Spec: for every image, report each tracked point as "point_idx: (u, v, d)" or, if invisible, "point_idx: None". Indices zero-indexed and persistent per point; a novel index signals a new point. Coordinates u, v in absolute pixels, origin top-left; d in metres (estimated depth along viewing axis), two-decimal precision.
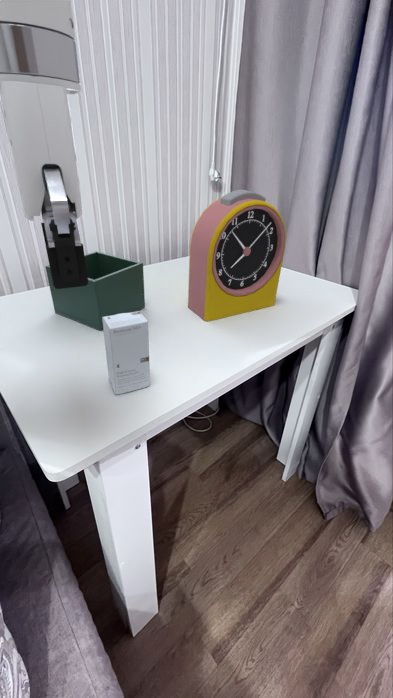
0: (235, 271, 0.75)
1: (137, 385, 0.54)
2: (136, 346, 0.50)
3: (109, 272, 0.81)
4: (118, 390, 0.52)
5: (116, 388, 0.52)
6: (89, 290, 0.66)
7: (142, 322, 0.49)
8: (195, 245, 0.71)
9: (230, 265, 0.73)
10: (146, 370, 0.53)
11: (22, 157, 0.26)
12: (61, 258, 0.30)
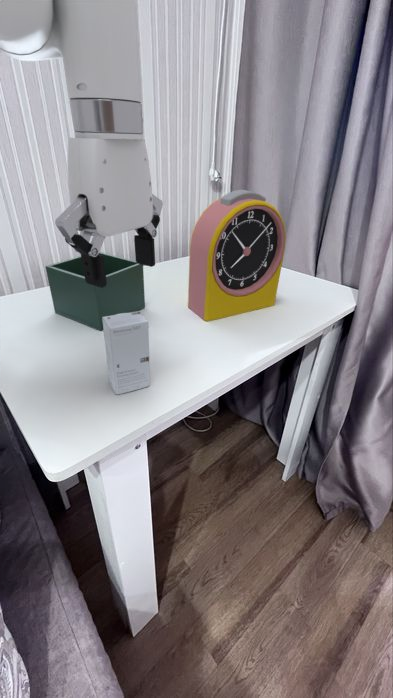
0: (235, 271, 0.75)
1: (137, 385, 0.54)
2: (136, 346, 0.50)
3: (109, 272, 0.81)
4: (118, 390, 0.52)
5: (116, 388, 0.52)
6: (89, 290, 0.66)
7: (142, 322, 0.49)
8: (195, 245, 0.71)
9: (230, 265, 0.73)
10: (146, 370, 0.53)
11: (70, 188, 0.37)
12: (83, 262, 0.40)
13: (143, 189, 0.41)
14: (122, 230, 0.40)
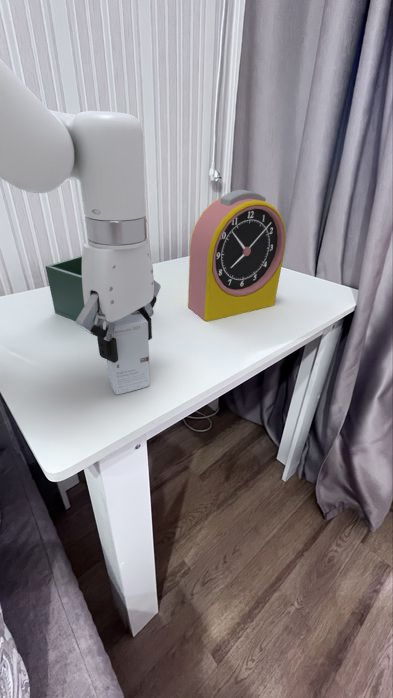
0: (235, 271, 0.75)
1: (137, 385, 0.54)
2: (136, 347, 0.50)
3: None
4: (118, 390, 0.52)
5: (116, 388, 0.52)
6: None
7: (141, 322, 0.49)
8: (195, 245, 0.71)
9: (230, 265, 0.73)
10: (146, 370, 0.53)
11: (83, 283, 0.43)
12: (99, 343, 0.47)
13: (146, 278, 0.47)
14: (127, 314, 0.46)
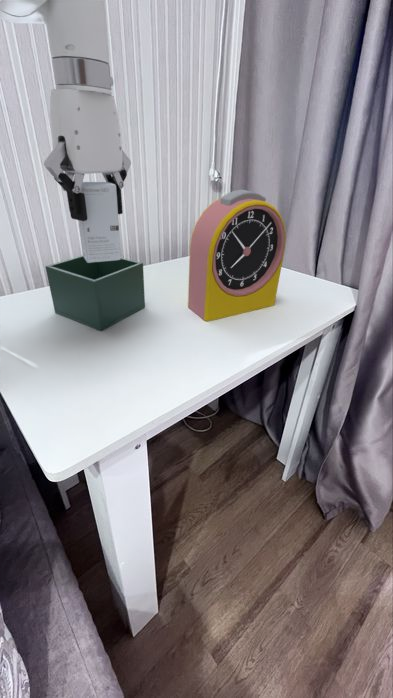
0: (235, 271, 0.75)
1: (108, 255, 0.57)
2: (105, 211, 0.54)
3: (109, 272, 0.81)
4: (89, 257, 0.56)
5: (87, 255, 0.56)
6: (89, 290, 0.66)
7: (110, 185, 0.52)
8: (195, 245, 0.71)
9: (230, 265, 0.73)
10: (116, 241, 0.57)
11: (52, 131, 0.46)
12: (69, 199, 0.50)
13: (113, 138, 0.50)
14: (95, 170, 0.50)
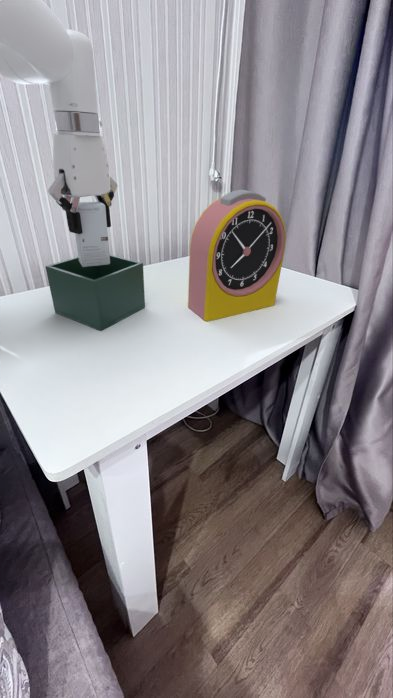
0: (235, 271, 0.75)
1: (99, 261, 0.70)
2: (96, 225, 0.67)
3: (109, 272, 0.81)
4: (84, 262, 0.69)
5: (83, 261, 0.69)
6: (89, 290, 0.66)
7: (100, 205, 0.65)
8: (195, 245, 0.71)
9: (230, 265, 0.73)
10: (106, 249, 0.70)
11: (54, 165, 0.59)
12: (67, 216, 0.63)
13: (102, 168, 0.63)
14: (88, 194, 0.63)
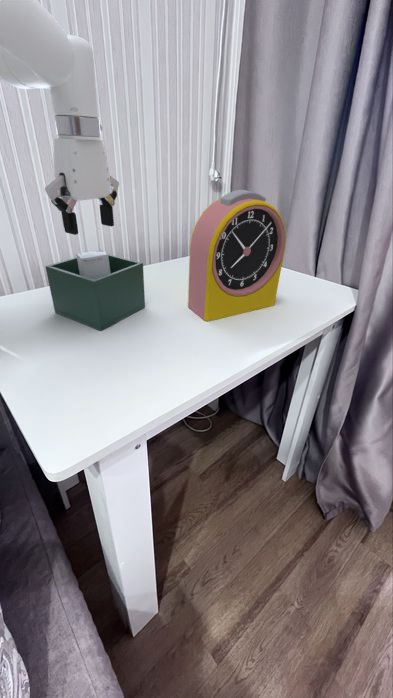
0: (235, 271, 0.75)
1: None
2: (101, 273, 0.72)
3: None
4: None
5: None
6: (89, 290, 0.66)
7: (103, 255, 0.71)
8: (195, 245, 0.71)
9: (230, 265, 0.73)
10: None
11: (54, 169, 0.60)
12: (63, 217, 0.63)
13: (102, 172, 0.64)
14: (88, 197, 0.63)
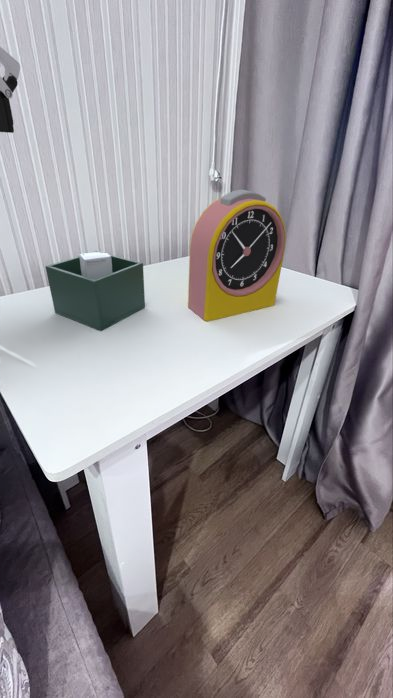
0: (235, 271, 0.75)
1: None
2: (103, 275, 0.72)
3: None
4: None
5: None
6: (89, 290, 0.66)
7: (106, 256, 0.71)
8: (195, 245, 0.71)
9: (230, 265, 0.73)
10: None
11: None
12: None
13: None
14: None
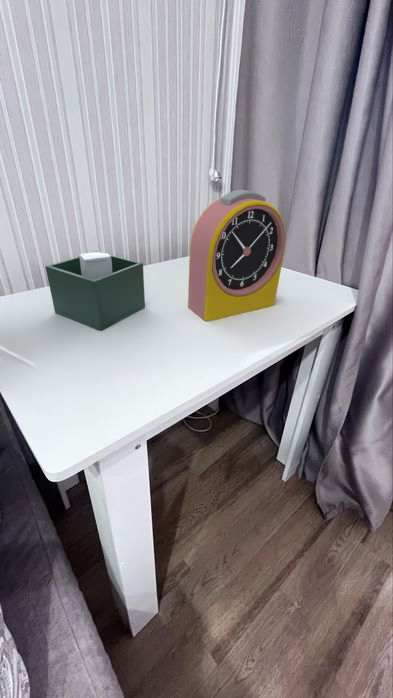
0: (235, 271, 0.75)
1: None
2: (103, 275, 0.72)
3: None
4: None
5: None
6: (89, 290, 0.66)
7: (106, 256, 0.71)
8: (195, 245, 0.71)
9: (230, 265, 0.73)
10: None
11: None
12: None
13: None
14: None
